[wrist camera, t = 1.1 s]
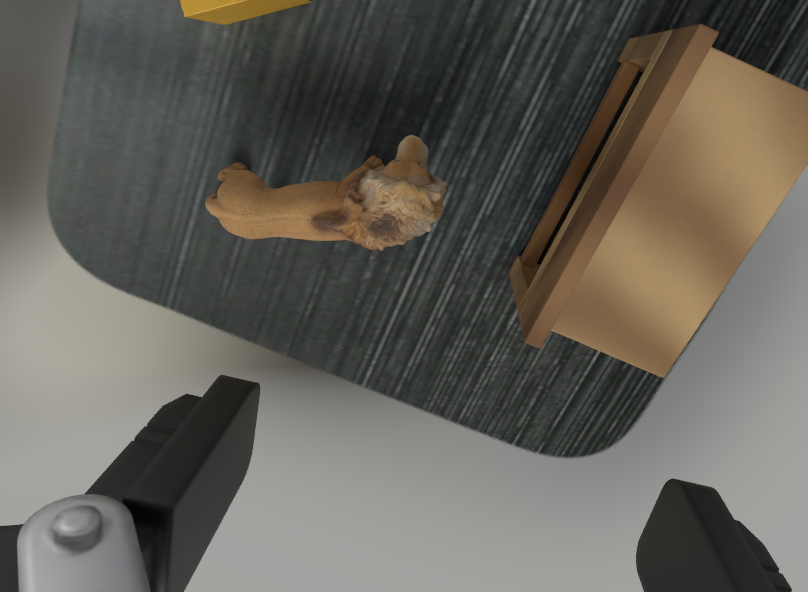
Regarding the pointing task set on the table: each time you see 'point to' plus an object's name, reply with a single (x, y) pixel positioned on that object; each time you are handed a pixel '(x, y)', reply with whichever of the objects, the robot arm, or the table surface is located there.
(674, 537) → the robot arm
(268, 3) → the block
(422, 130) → the table surface
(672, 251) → the bench
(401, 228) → the lion figurine
